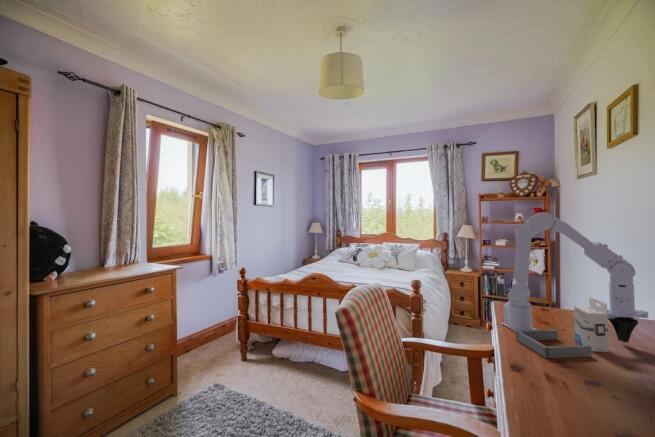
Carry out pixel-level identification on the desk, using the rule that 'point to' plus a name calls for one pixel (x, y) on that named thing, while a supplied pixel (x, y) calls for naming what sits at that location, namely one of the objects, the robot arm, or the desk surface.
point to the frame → (550, 351)
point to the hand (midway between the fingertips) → (623, 340)
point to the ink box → (592, 325)
